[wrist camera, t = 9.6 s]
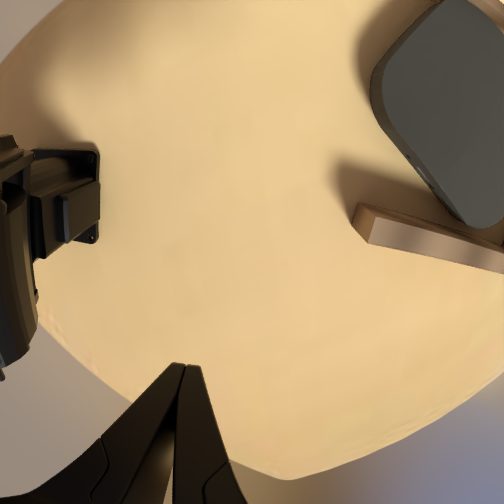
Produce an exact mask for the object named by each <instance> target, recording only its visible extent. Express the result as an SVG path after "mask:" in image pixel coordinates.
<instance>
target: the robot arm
mask: <svg viewBox="0 0 504 504" xmlns="http://www.w3.org/2000/svg"><path fill="white" fill-rule="evenodd" d="M34 154H35V158H34ZM91 155H93V156H94V160H93V161H92V160H91ZM99 166H100V154H99V152H98V151H96V150H84V149H33V150H31V151H26V150H24V149H20V148H18V145H17V144H16V142H15V140H14V138H13V136H12V135H1V136H0V381H4V380H5V375H4V373H3V371H2V368H3V367H6V366H8V365H10V364H11V363H13V362H15V361H17V360H18V359H20V358H21V357H22V356H23V355H25V354H26V352H27V351H28V350H29V349H30V345H29V343H30V341H31V339H32V337H33V335H34V333H35V331H36V329H37V322H38V313H37V308H36V303H37V301H38V298H39V296H38V290H37V289H36V286H35V279H34V271H33V263H34V262H35V261H36V260H38V259H39V258H41V259H46V258H47V257H48V256H49V255H51V254H52V253H53V252H54V251H56V250H57V249H58V248H60V247H61V246H62V245H63V244H65V243H66V244H67V243H69V242H71V241H78V242H83V243H88V244H94V243H95V242H96V241H97V240H98V237H99V232H98V220H99V219H100V183H99ZM90 234H91V235H92V236H93V239H92V238H91V237H90ZM172 466H173V488H172V491H173V492H172V495H173V496H172V504H248V502H247V500H246V498H245V497H244V495H243V493H242V491H241V489H240V487H239V484H238V482H237V479H236V477H235V475H234V472H233V469H232V466H231V463H230V462H229V458H228V455H227V452H226V449H225V446H224V443H223V440H222V437H221V434H220V431H219V428H218V425H217V421H216V418H215V415H214V412H213V408H212V405H211V402H210V398H209V395H208V391H207V388H206V384H205V381H204V377H203V373H202V370H201V367H200V366H199V365H191V364H188V365H187V366H186V365H185V364H183V363H176V362H173V363H171V364H170V365H169V366H168V367H167V368H166V369H165V370H164V371H163V372H162V373H161V374H160V375H159V377H158V378H157V379H156V380H155V381H154V382H153V383H152V384H151V385H150V386H149V387H148V388H147V389H146V390H145V391H144V392H143V393H142V394H141V395H140V396H139V397H138V398H137V399H136V400H135V401H134V403H133V404H132V405H131V406H130V407H129V408H128V409H127V410H126V411H125V412H124V413H123V414H122V415H121V416H120V417H119V418H118V419H117V420H116V421H115V422H114V423H113V424H112V425H111V426H110V427H109V428H108V429H107V430H106V431H105V432H104V433H103V434H102V435H101V438H98V439H97V440H96V441H95V442H94V443H93V444H92V445H91V446H90V447H89V448H88V449H87V450H86V451H85V452H84V453H83V454H82V455H81V456H79V457H78V458H77V459H76V460H75V461H73V462H72V463H71V464H70V465H68V466H67V467H66V468H64V469H63V470H61V471H60V472H59V473H57V474H56V475H55V476H53V477H52V478H51V479H49V480H48V481H46V482H45V483H44V484H42V485H41V486H39V487H38V488H36V489H34V490H32V491H30V492H28V493H25V494H22V495H16V496H10V497H3V498H0V504H163V502H164V498H165V494H166V490H167V486H168V482H169V478H170V474H171V470H172Z"/></svg>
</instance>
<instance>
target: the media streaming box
mask: <svg viewBox="0 0 504 504" xmlns="http://www.w3.org/2000/svg"><path fill="white" fill-rule="evenodd" d="M370 98H371V104H372V108H373V111H374V114H375V117H376V119H377V121H378V123H379V125H380V127H381V128H382V130H383V131H384V132H385V133H386V135H387V136H388V137H389V138H390V139H391V141H392V142H393V143H394V144H395V146H396V147H397V148H398V149H399V150H400V152H401V153H402V154H403V155H404V157H405V158H406V159H407V160H408V162H409V163H410V164H411V165H412V166H413V168H414V169H415V170H416V171H417V173H418V174H419V175H420V176H421V178H422V179H423V180H424V181H425V183H426V184H427V185H428V186H429V188H430V189H431V190H432V192H433V193H434V194H435V195H436V197H437V198H438V199H439V200H440V202H441V203H442V204H443V205H444V207H445V208H446V209H447V210H448V212H449V213H450V214H451V215H452V216H453V217H455V218H456V219H458V220H460V221H461V222H463V223H465V224H466V225H468V226H470V227H472V228H474V229H485V228H489V227H491V226H493V225H495V224H496V223H498V222H499V221H500V220H501V219H502V218H503V217H504V34H503V33H502V32H501V30H500V29H499V28H498V27H497V26H496V24H495V23H494V22H493V21H492V20H491V19H490V18H489V17H488V16H487V15H486V14H485V13H484V12H483V11H482V10H480V9H479V8H478V7H476V6H475V5H473V4H471V3H469V2H468V1H465V0H443V1H441V2H439V3H437V4H435V5H433V6H432V7H431V8H429V9H428V10H427V11H426V12H425V13H424V14H422V15H421V16H420V17H419V18H418V19H417V20H416V21H415V22H414V23H413V24H412V25H411V26H410V27H409V28H408V29H407V30H406V31H405V32H404V33H403V34H402V35H401V36H400V37H399V39H398V40H397V41H396V42H395V43H394V44H393V45H392V47H391V48H390V49H389V50H388V51H387V53H386V54H385V55H384V56H383V58H382V59H381V60H380V61H379V63H378V64H377V65H376V67H375V68H374V71H373V73H372V77H371V82H370Z"/></svg>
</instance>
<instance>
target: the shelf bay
mask: <svg viewBox="0 0 504 504" xmlns="http://www.w3.org/2000/svg"><path fill="white" fill-rule="evenodd" d="M465 1H468V2H469V3H471V4H473V5H475V6H476V7H478V8H479V9H480V10H482V11H483V12H484V13H485V14H486V15H487V16H488V17H489V18H490V19H491V20H492V21H493V22H494V23H495V24H496V26H497V27H498V28H499V29H500V30H501V32H502V33H503V34H504V4H503V3H502V2H500V1H499V0H465ZM351 226H352V227H353V228H354V229H355V230H356V231H357V232H358V233H359V234H360V236H361V237H362V238H363V239H364V240H365V241H366V242H367V243H368V244H373V245H378V246H383V247H387V248H392V249H397V250H401V251H406V252H411V253H415V254H420V255H424V256H429V257H433V258H438V259H442V260H446V261H451V262H455V263H459V264H463V265H468V266H472V267H476V268H480V269H484V270H488V271H492V272H496V273H500V274H504V242H503V244H502V246H500V245H498V244H495V243H492V242H489V241H487V240H484V239H481V238H478V237H475V236H472V235H469V234H466V233H463V232H460V231H457V230H454V229H451V228H448V227H445V226H442V225H438V224H435V223H432V222H429V221H425V220H422V219H418V218H415V217H411V216H408V215H404V214H401V213H397V212H394V211H390V210H386V209H382V208H379V207H375V206H371V205H367V204H363V203H359V202H358V205H357V208H356V212H355V215H354V219H353V222H352V225H351Z"/></svg>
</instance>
